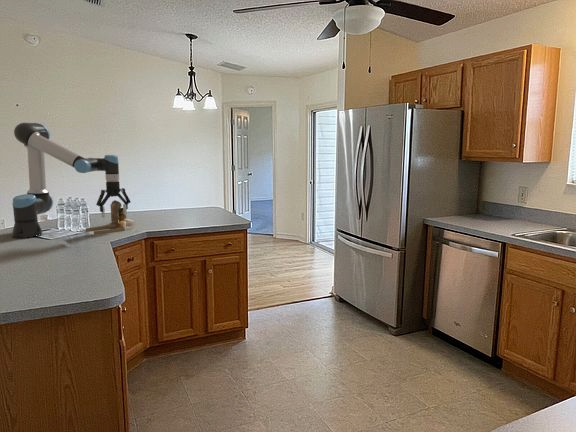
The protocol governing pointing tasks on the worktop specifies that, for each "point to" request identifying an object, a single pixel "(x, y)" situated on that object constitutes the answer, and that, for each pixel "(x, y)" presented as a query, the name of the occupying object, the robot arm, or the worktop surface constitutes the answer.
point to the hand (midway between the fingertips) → (114, 215)
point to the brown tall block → (114, 217)
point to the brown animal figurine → (120, 211)
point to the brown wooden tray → (106, 229)
